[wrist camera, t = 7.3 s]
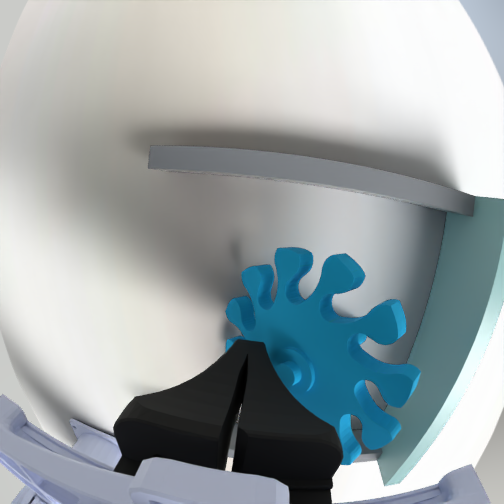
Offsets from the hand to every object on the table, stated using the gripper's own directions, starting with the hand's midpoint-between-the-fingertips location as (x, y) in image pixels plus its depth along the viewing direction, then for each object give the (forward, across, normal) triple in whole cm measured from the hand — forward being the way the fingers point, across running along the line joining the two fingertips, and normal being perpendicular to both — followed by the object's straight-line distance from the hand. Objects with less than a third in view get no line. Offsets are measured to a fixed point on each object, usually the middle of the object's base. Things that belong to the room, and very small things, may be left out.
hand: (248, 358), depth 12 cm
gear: (+3, -2, 0) cm, 4 cm away
